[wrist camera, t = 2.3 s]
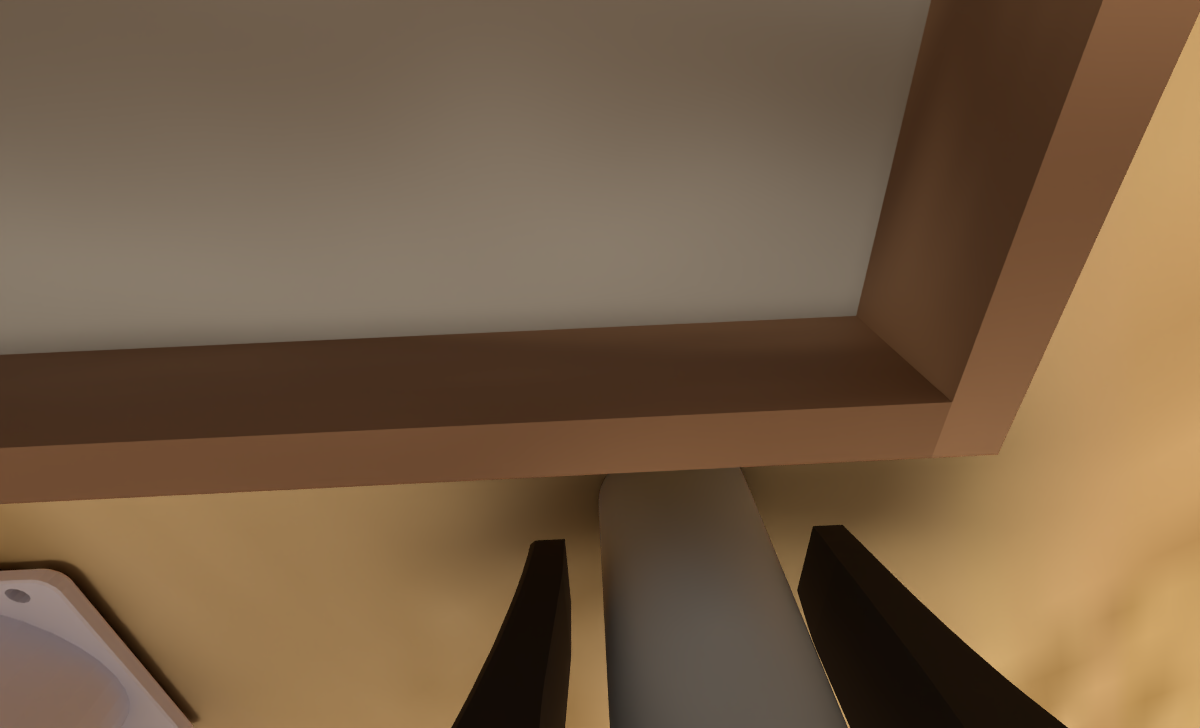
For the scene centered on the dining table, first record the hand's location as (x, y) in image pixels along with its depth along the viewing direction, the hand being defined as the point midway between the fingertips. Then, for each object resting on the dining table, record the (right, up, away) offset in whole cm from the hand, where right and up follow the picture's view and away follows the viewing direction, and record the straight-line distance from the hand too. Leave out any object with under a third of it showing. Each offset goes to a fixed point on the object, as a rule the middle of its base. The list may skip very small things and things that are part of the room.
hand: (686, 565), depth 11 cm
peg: (0, +1, +2) cm, 2 cm away
